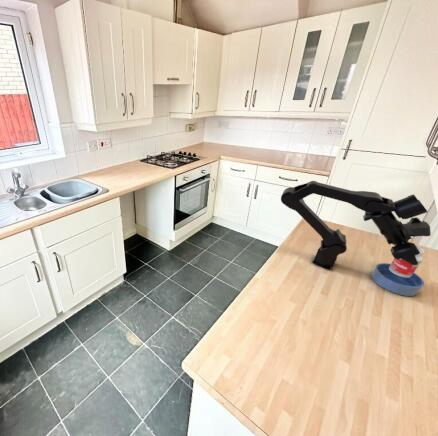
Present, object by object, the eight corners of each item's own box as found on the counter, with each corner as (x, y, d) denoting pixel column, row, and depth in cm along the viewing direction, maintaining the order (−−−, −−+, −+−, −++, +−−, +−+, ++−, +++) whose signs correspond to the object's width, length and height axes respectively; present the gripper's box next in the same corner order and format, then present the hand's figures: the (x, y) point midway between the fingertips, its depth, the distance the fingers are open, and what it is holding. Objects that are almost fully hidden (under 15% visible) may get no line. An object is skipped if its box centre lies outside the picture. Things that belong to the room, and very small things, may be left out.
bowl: (368, 283, 92) (373, 274, 90) (373, 267, 100) (378, 258, 98) (416, 303, 84) (423, 293, 81) (418, 283, 91) (424, 274, 89)
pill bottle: (383, 267, 92) (398, 243, 86) (398, 266, 92) (414, 242, 87) (400, 278, 86) (416, 254, 81) (415, 277, 87) (433, 253, 81)
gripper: (427, 226, 73) (457, 268, 73) (411, 203, 86) (437, 238, 87) (381, 240, 81) (408, 277, 81) (373, 217, 94) (397, 249, 94)
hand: (413, 259), depth 85 cm, fingers closed on pill bottle, 6 cm apart
